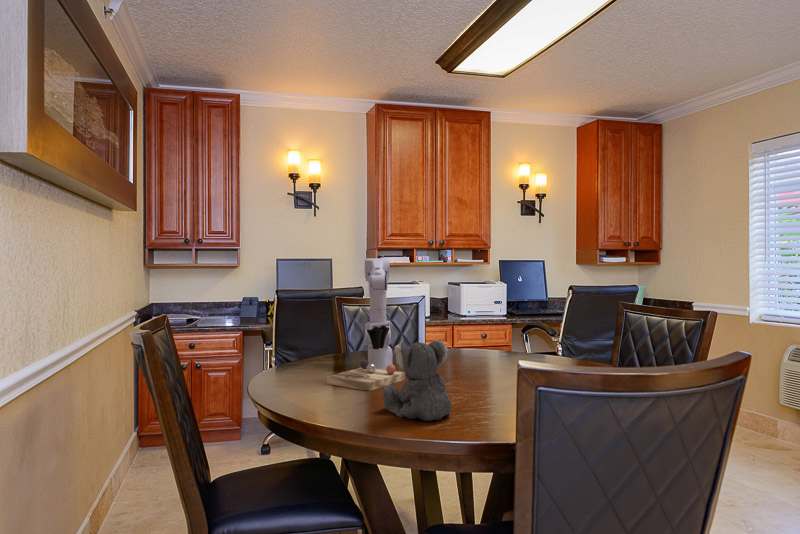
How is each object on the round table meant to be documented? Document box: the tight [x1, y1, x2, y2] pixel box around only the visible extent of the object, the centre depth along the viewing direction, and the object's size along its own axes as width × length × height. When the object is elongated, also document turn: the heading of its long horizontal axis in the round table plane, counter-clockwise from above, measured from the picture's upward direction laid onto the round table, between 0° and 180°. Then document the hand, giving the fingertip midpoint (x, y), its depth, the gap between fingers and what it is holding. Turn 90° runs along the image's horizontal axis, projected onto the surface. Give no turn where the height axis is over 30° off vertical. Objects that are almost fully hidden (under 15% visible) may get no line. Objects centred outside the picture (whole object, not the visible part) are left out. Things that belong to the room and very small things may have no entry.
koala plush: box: [382, 338, 452, 422], centre depth 137 cm, size 17×18×20 cm
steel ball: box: [367, 364, 376, 373], centre depth 178 cm, size 3×3×3 cm
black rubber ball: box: [359, 359, 369, 369], centre depth 185 cm, size 3×3×3 cm
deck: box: [326, 367, 406, 392], centre depth 176 cm, size 20×18×2 cm
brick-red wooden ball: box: [386, 363, 397, 374], centre depth 176 cm, size 3×3×3 cm
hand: (378, 348), depth 181 cm, fingers closed
